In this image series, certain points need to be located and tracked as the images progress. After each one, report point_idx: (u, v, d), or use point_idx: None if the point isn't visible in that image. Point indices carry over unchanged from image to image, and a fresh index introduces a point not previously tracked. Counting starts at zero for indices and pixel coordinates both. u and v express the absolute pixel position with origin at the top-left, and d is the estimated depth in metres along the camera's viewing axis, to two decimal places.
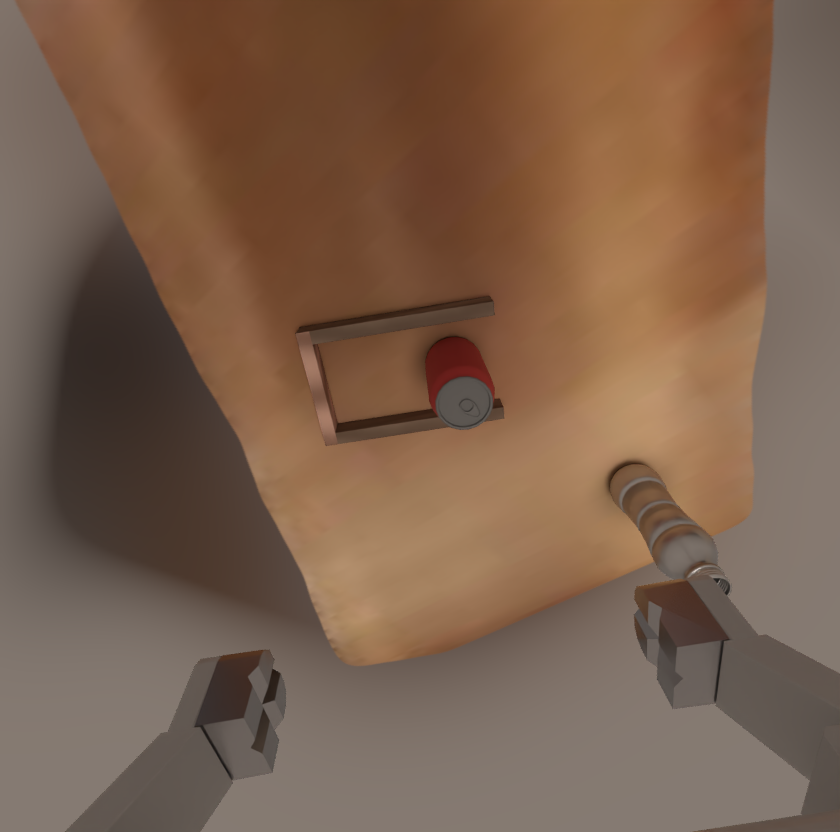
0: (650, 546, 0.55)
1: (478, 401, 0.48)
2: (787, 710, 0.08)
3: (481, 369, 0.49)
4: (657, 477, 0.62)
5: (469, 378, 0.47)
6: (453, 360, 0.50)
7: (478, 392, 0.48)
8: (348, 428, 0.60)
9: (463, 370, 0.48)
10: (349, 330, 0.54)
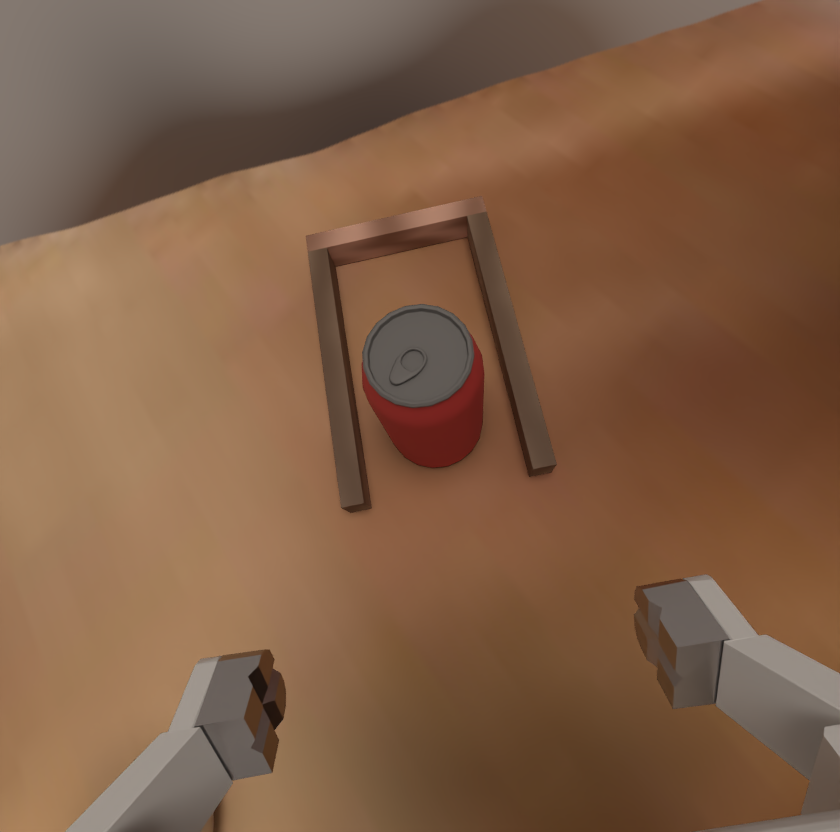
0: None
1: (420, 381, 0.25)
2: (787, 710, 0.08)
3: (474, 400, 0.26)
4: None
5: (471, 356, 0.24)
6: None
7: (440, 379, 0.25)
8: (331, 269, 0.39)
9: (477, 358, 0.26)
10: (491, 260, 0.37)
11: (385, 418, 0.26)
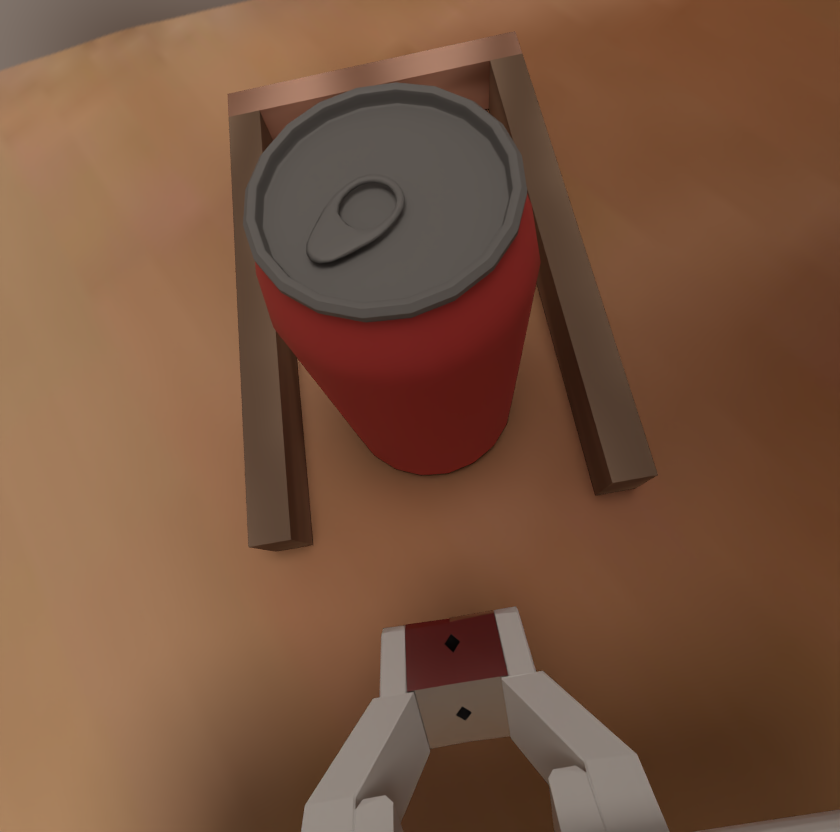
0: None
1: (386, 258, 0.10)
2: (548, 748, 0.08)
3: (517, 321, 0.11)
4: None
5: (519, 192, 0.09)
6: None
7: (438, 251, 0.09)
8: None
9: (530, 216, 0.11)
10: (530, 125, 0.22)
11: (306, 361, 0.11)
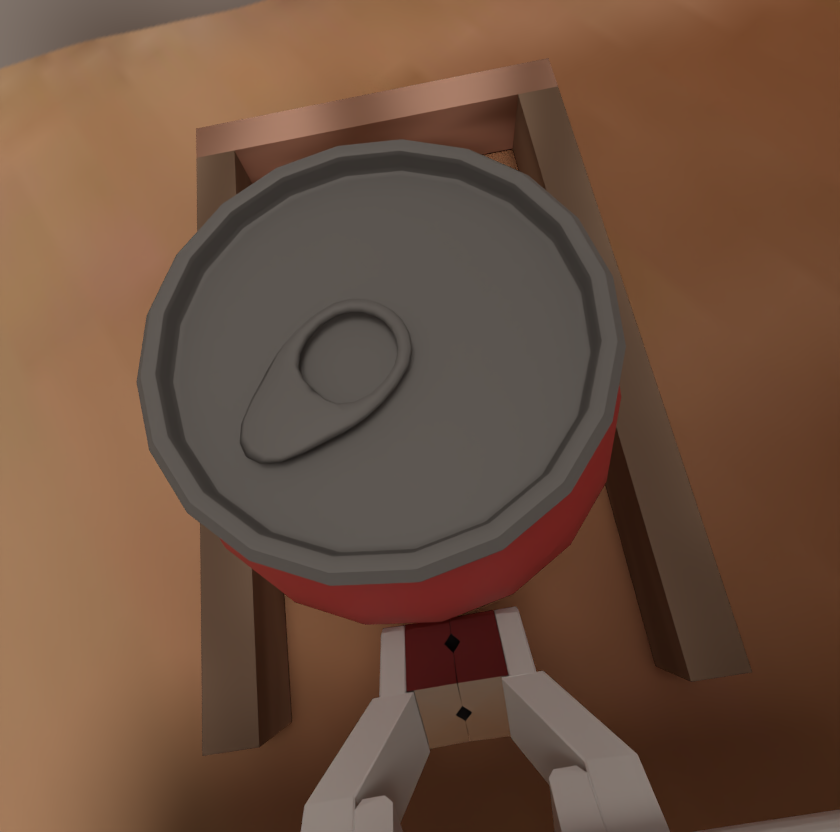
0: None
1: (376, 454, 0.06)
2: (548, 748, 0.08)
3: None
4: None
5: (614, 350, 0.05)
6: None
7: (468, 447, 0.05)
8: None
9: None
10: (569, 179, 0.18)
11: None
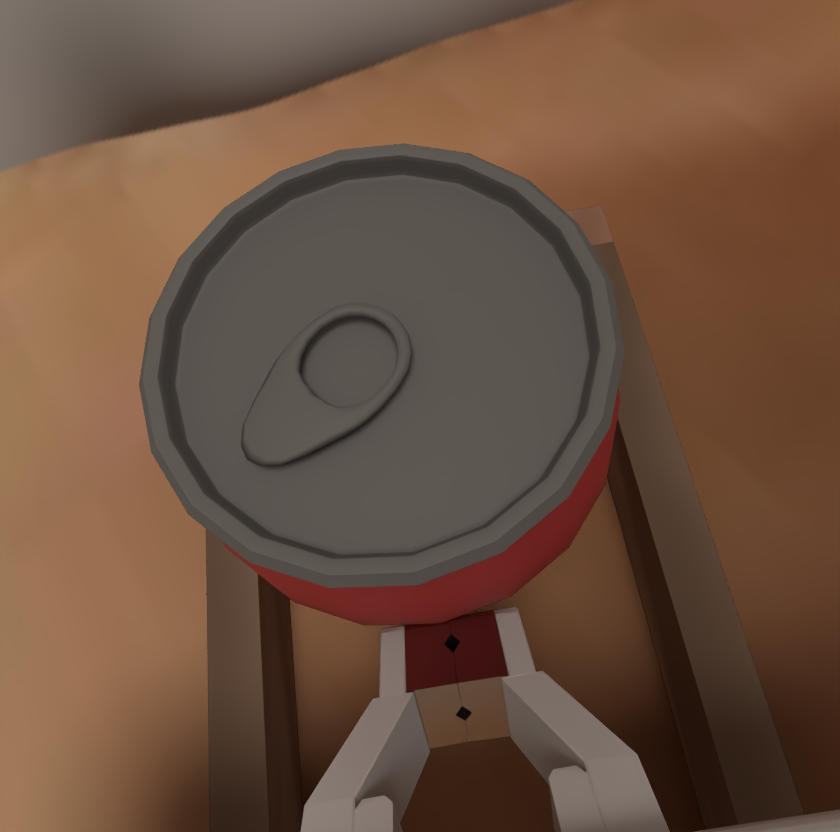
0: None
1: (376, 457, 0.06)
2: (548, 748, 0.08)
3: (583, 518, 0.07)
4: None
5: (612, 355, 0.05)
6: None
7: (467, 450, 0.05)
8: None
9: None
10: (631, 362, 0.15)
11: None
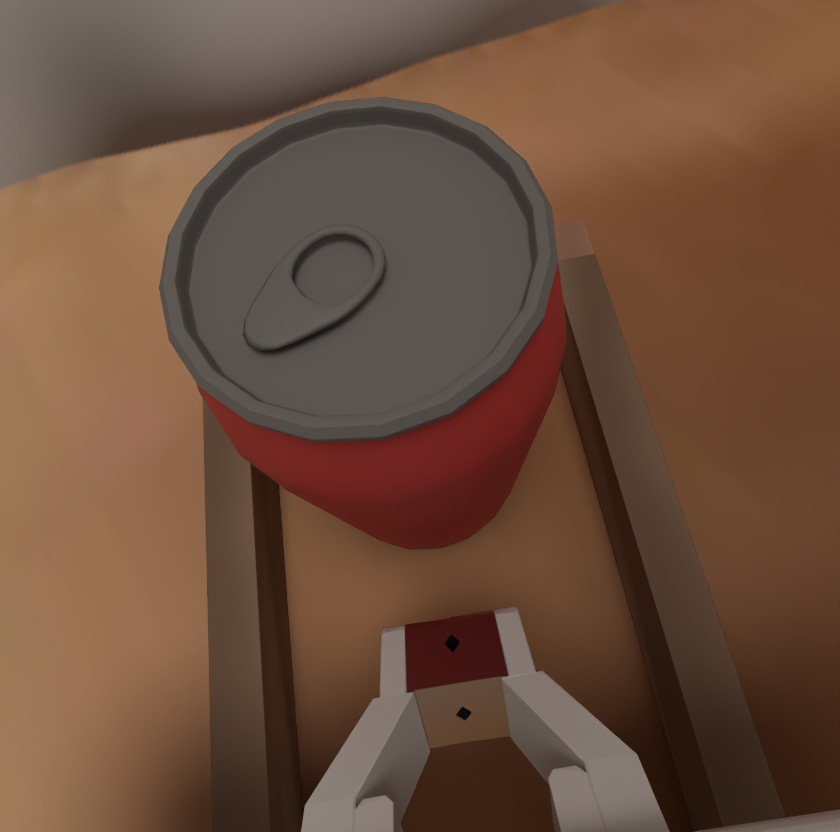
0: None
1: (354, 346, 0.07)
2: (548, 748, 0.08)
3: (534, 421, 0.08)
4: None
5: (547, 262, 0.07)
6: None
7: (428, 340, 0.07)
8: None
9: (557, 285, 0.08)
10: (613, 369, 0.16)
11: (251, 462, 0.08)
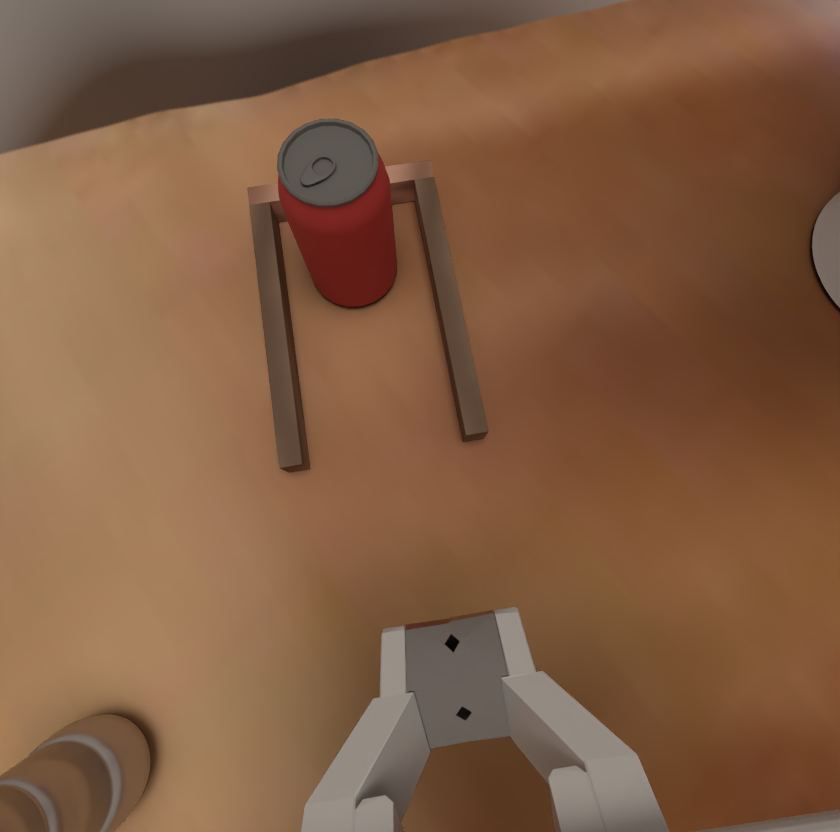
0: None
1: (328, 186, 0.27)
2: (548, 748, 0.08)
3: (378, 215, 0.29)
4: (115, 821, 0.27)
5: (375, 166, 0.27)
6: (389, 189, 0.31)
7: (346, 185, 0.27)
8: (274, 225, 0.38)
9: (383, 175, 0.29)
10: (436, 227, 0.37)
11: (297, 224, 0.29)
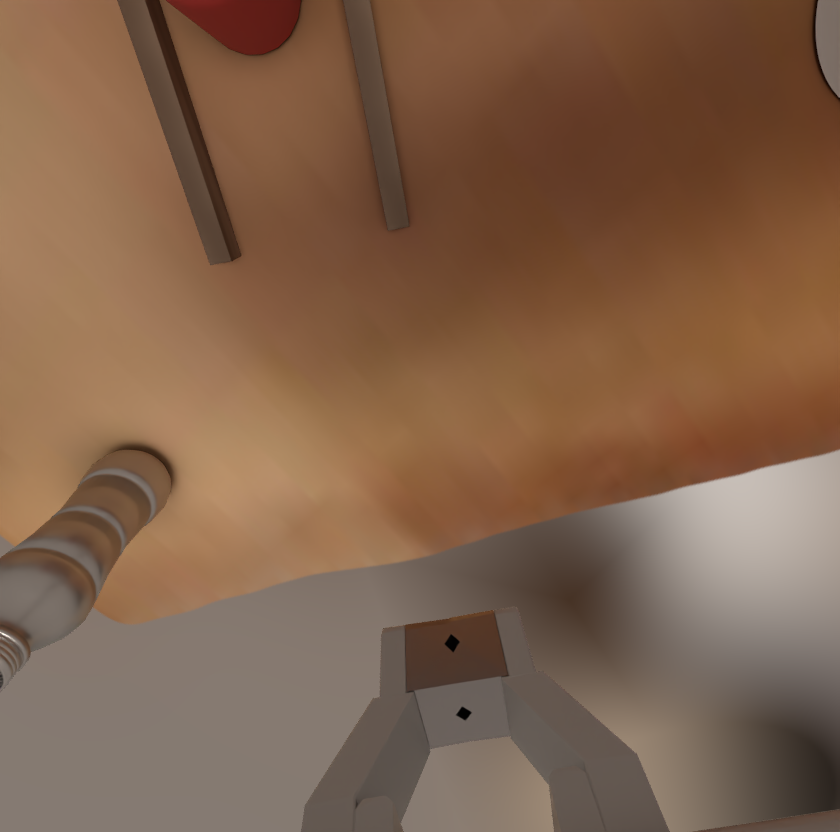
0: (29, 544, 0.31)
1: None
2: (548, 748, 0.08)
3: None
4: (157, 511, 0.42)
5: None
6: None
7: None
8: None
9: None
10: None
11: None
